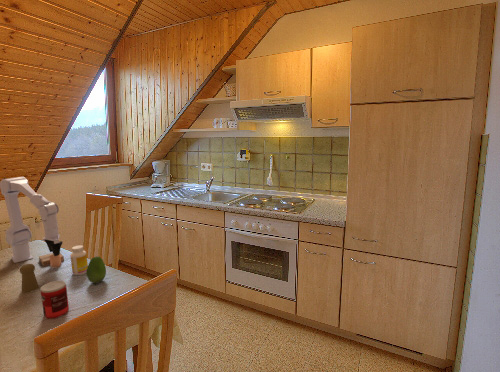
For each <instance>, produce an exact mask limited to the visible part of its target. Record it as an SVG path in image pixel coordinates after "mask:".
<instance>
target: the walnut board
mask: <svg viewBox="0 0 500 372" xmlns="http://www.w3.org/2000/svg"><path fill="white" fill-rule="evenodd" d="M51 255H53V252H50V253H47V254H43V255H40V256H38V261H39V262H40V264H41V265H42V266H43V267H46V266H51V265H50V257H49V256H51ZM60 256H61V262H64V261H65V258H64V255H63V254H62V253H61V252H60Z"/></svg>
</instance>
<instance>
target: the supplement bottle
mask: <svg viewBox="0 0 500 372" xmlns="http://www.w3.org/2000/svg"><path fill="white" fill-rule="evenodd" d="M70 263H71V271H72V275H75V276H80V275H84V274H87V273H86V271H87V267H88V265H89V262H88V256H87V251H86V250H84V245H81V244H80V245H75V246H73V247H71V253H70Z"/></svg>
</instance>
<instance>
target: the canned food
mask: <svg viewBox="0 0 500 372" xmlns="http://www.w3.org/2000/svg"><path fill="white" fill-rule="evenodd" d="M39 289H40V290H39V291H40V297H41V304H42V310H43V315H44V317H45V318H46V319H58V318H60V317H61V316H64V315H66V313H68V312H69V308H70V306H69V300H68V291H67V283H66V281H64V280H53V281H50V282H47V283H44V285H43V284H42V286H41V287H39Z"/></svg>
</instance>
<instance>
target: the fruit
mask: <svg viewBox="0 0 500 372" xmlns="http://www.w3.org/2000/svg"><path fill="white" fill-rule="evenodd" d="M106 269H107V268H106V264H105V262H104V260H103V258H102V257H101V256H94V257H92V258H91V259H90V261H88V267H87V271H86V273H85V274H86V277H87V281H89V282H90V283H91V284H99V283H101V282H102V281H103V280H105V277H106V275H107V270H106Z"/></svg>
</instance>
